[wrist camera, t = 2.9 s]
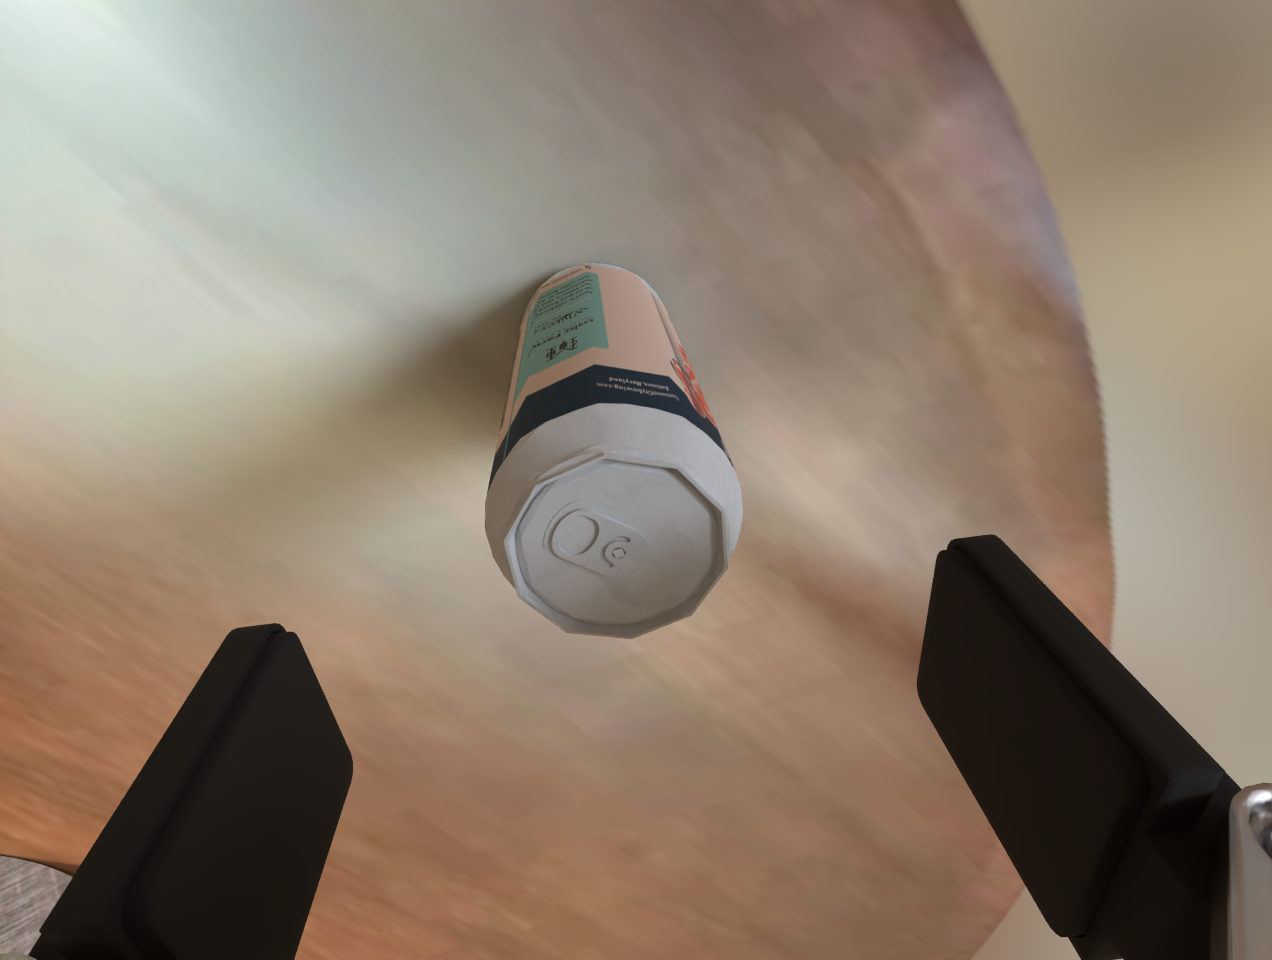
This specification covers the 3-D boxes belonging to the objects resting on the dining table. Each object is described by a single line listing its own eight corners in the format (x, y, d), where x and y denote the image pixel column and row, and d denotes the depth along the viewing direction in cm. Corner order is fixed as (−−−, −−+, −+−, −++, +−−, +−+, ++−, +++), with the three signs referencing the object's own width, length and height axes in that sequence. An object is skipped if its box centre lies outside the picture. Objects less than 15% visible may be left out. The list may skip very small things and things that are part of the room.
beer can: (623, 424, 24) (664, 686, 13) (496, 363, 22) (435, 605, 12) (696, 304, 22) (809, 502, 12) (563, 229, 20) (556, 379, 10)
